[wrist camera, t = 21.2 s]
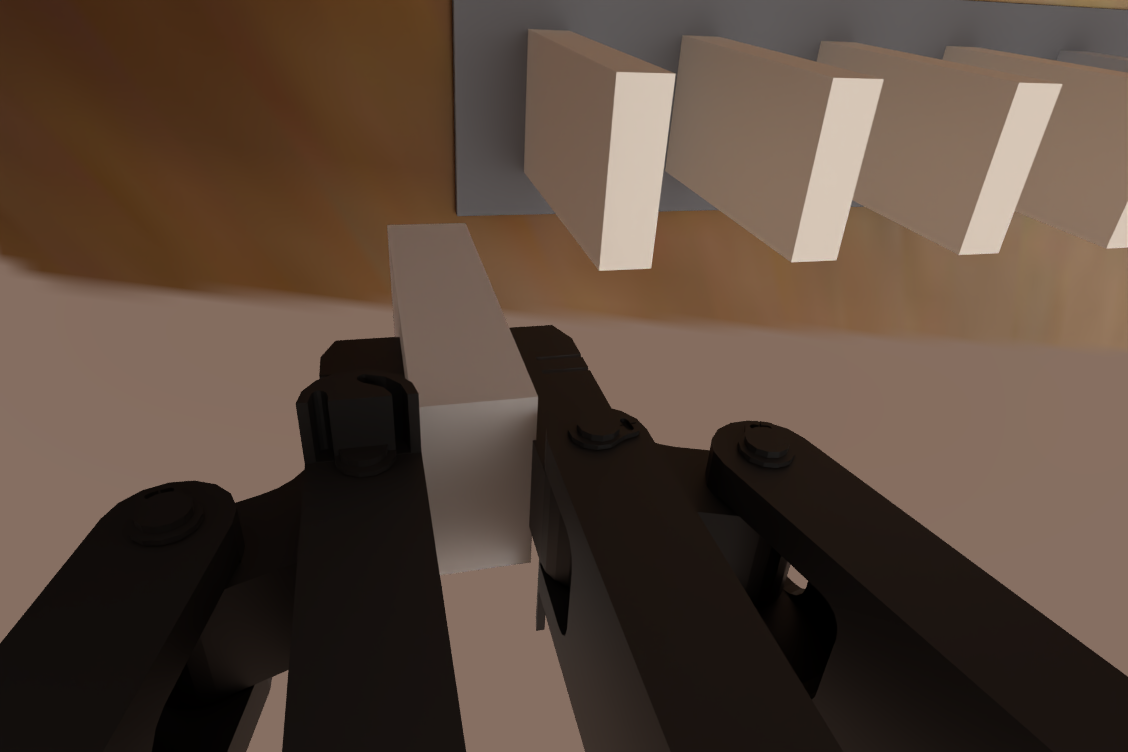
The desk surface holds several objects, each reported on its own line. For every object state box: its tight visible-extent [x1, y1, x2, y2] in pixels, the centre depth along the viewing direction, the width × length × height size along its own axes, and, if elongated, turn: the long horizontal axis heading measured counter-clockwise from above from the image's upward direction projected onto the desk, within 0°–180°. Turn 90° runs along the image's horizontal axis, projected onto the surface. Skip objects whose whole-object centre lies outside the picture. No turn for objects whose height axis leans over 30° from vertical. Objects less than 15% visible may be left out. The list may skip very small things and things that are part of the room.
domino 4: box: [942, 46, 1128, 248], centre depth 32 cm, size 2×6×12 cm, turn 176°
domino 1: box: [524, 29, 676, 271], centre depth 27 cm, size 2×6×12 cm, turn 177°
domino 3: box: [817, 41, 1062, 255], centre depth 31 cm, size 2×6×12 cm, turn 176°
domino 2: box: [665, 35, 884, 262], centre depth 29 cm, size 2×6×12 cm, turn 177°
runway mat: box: [452, 0, 1128, 216], centre depth 36 cm, size 38×10×1 cm, turn 87°
